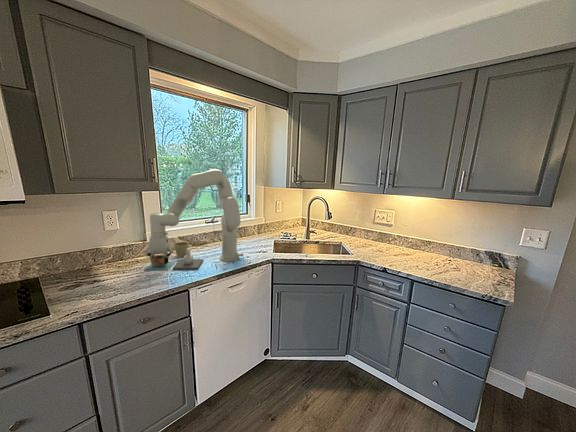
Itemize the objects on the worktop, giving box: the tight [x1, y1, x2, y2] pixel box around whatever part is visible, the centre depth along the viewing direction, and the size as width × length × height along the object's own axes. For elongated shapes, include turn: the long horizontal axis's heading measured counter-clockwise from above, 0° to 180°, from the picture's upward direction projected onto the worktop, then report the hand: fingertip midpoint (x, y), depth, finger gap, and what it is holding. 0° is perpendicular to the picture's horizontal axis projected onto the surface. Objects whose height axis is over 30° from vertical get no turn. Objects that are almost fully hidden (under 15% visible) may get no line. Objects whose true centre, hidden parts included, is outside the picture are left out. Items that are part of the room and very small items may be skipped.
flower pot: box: [173, 241, 189, 259], centre depth 162 cm, size 9×9×9 cm
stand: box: [172, 248, 204, 271], centre depth 146 cm, size 14×14×11 cm
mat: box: [143, 261, 176, 272], centre depth 143 cm, size 13×12×1 cm
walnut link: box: [150, 254, 165, 265], centre depth 143 cm, size 7×7×4 cm
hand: (159, 263), depth 143 cm, fingers closed on walnut link, 6 cm apart
